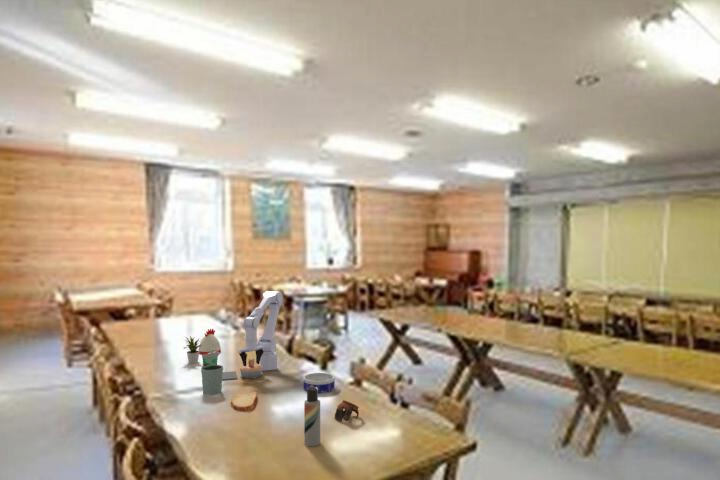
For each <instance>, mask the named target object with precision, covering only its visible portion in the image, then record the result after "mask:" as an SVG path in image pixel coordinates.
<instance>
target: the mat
mask: <svg viewBox="0 0 720 480" xmlns="http://www.w3.org/2000/svg"><path fill="white" fill-rule="evenodd" d="M229 380H230V381H232V380H238V374H237V371H235V370H233V371H223V373H222V381H229Z"/></svg>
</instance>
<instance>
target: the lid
mask: <svg viewBox="0 0 720 480" xmlns="http://www.w3.org/2000/svg"><path fill="white" fill-rule="evenodd" d="M247 362H248V364H246V366H243V365H241V366H240V367H239V370H240V372H241V371H258V370H261V369H262V368H263V366H262V365H260V363H259V364H257V363H255V358H249V359H248V360H247Z"/></svg>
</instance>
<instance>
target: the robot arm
mask: <svg viewBox="0 0 720 480" xmlns="http://www.w3.org/2000/svg"><path fill="white" fill-rule="evenodd" d="M283 299H284V295H283V293H282V292H281V291H275V290H274V291H273V290H265V292H264V293H263V294H262V300H261V302H260V303H259V305H258V307H257V306H256V307H255V308H254V309H253V310H252V312H251V313H250V314H249V316H247V317H245V318H244V320H243V326H244V330H245V347H242V348H238V349H237V353H238V355H239V356H240V358H241V361H242V366H246V365H247V358H248V354H247V353H251V352H255V357H256V358H255V364H259V365H262V366H263V368H262V372H264V371H275V370H278V355H277V352H276V350H277V342H278V341H277V339H276V338H275V336H274V334H275V329H276V325H277V321H278V315H279V313H280V308H281V307H282V304H283ZM268 307H269V313H268V317H267V320H266V325H265V328H264V333H263V335H262V336H260V337H259V339H258V338H257V337H258V336H257V335H258V330H257V328H258V327H259V326H260V322H261V319H262V317H263V316H264V314H265V309H266V308H268Z"/></svg>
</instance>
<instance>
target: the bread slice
mask: <svg viewBox="0 0 720 480" xmlns="http://www.w3.org/2000/svg"><path fill="white" fill-rule="evenodd" d="M258 400H259V397H258V394H257V391H252V392H249V393H241V392H237V393H235V394H234V395H233V396H232V398H231V399H230V407H231V408H232V410H235V411H237V412H244V413H247V412H248V413H249V412H252V411H253V410H254V409H255V408H256V405H257V403H258Z"/></svg>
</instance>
